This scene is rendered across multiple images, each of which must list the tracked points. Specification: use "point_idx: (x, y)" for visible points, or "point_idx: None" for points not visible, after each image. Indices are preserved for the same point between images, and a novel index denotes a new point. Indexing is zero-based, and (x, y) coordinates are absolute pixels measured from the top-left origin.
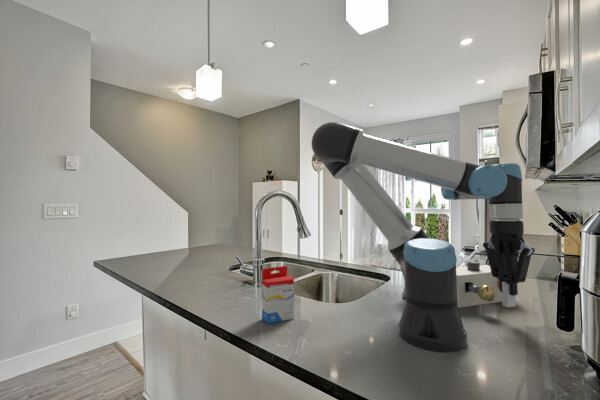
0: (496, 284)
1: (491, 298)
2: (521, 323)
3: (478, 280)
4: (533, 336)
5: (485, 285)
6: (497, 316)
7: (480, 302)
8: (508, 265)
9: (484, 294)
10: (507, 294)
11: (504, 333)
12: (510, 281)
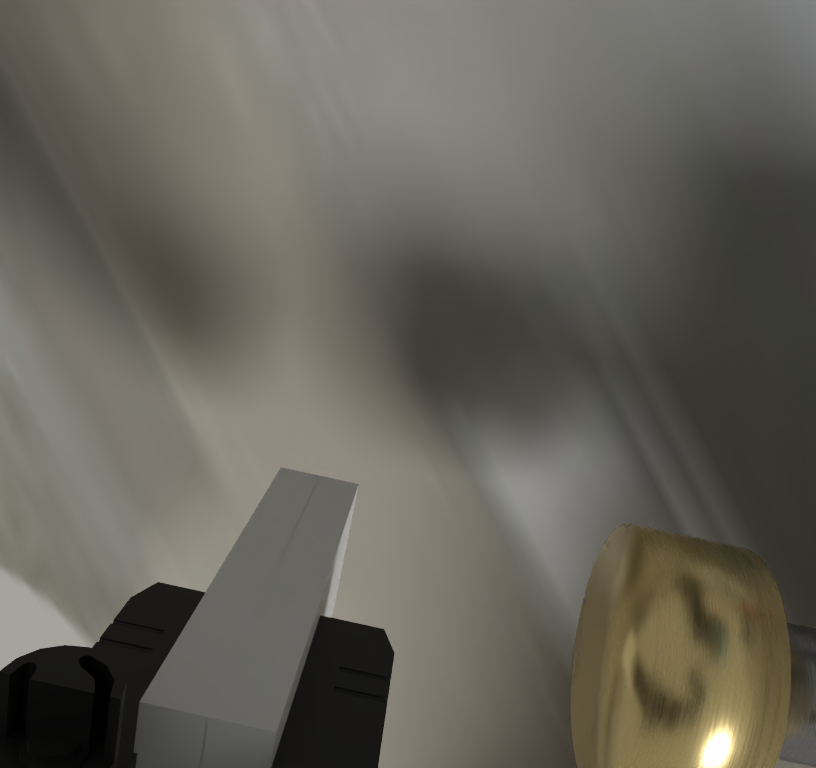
0: None
1: (587, 629)
2: None
3: None
4: (41, 281)
5: (719, 748)
6: (495, 509)
7: None
8: None
9: (641, 544)
10: (229, 562)
11: (202, 89)
12: (22, 736)
